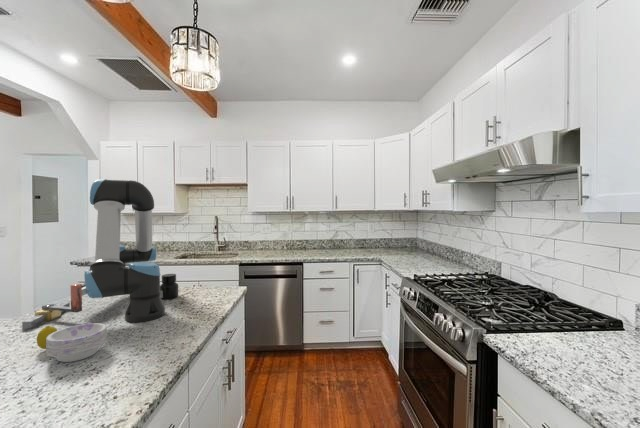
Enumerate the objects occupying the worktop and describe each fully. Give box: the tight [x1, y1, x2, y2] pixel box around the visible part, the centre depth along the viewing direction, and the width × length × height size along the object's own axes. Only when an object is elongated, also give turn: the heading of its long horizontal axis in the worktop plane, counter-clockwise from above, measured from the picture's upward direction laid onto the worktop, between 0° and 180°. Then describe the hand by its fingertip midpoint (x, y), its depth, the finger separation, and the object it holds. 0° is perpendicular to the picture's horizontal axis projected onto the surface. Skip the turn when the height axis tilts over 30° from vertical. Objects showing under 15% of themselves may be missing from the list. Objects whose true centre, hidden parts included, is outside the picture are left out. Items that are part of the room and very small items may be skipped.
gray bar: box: [21, 302, 71, 331], centre depth 130 cm, size 6×24×4 cm, turn 11°
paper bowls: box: [45, 322, 108, 363], centre depth 97 cm, size 15×15×8 cm
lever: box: [41, 283, 83, 313], centre depth 127 cm, size 20×4×11 cm, turn 75°
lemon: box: [36, 325, 59, 350], centre depth 101 cm, size 6×6×8 cm
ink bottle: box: [160, 273, 179, 301], centre depth 159 cm, size 10×9×12 cm
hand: (79, 293), depth 127 cm, fingers closed
